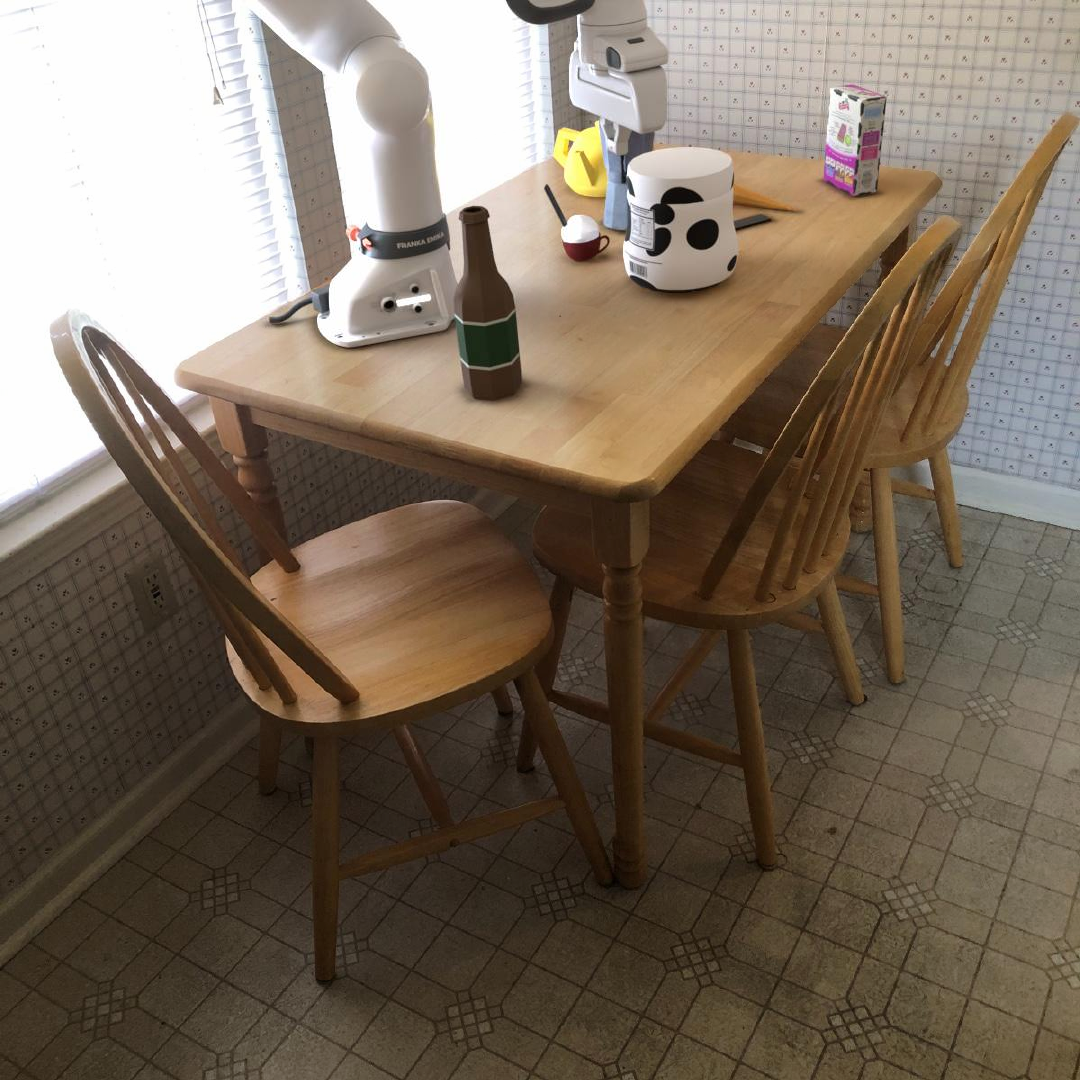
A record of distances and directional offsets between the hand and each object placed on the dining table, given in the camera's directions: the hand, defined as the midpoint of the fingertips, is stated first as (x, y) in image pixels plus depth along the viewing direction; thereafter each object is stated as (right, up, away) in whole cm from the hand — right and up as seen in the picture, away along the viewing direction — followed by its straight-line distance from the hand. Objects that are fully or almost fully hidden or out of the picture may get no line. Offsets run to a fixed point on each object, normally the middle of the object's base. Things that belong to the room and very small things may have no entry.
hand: (617, 152), depth 151 cm
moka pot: (+5, +2, +43) cm, 43 cm away
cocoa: (-4, -6, +32) cm, 33 cm away
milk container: (+11, -12, +21) cm, 27 cm away
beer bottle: (-17, -32, -3) cm, 37 cm away
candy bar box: (+45, +11, +50) cm, 68 cm away
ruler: (+17, -1, +36) cm, 40 cm away
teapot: (+2, +15, +61) cm, 63 cm away
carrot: (+26, +7, +47) cm, 54 cm away
